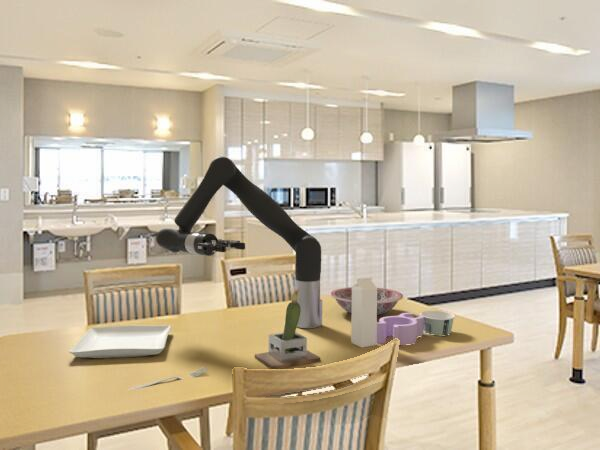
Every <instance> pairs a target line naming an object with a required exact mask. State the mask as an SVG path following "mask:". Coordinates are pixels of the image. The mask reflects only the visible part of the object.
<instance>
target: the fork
mask: <svg viewBox="0 0 600 450" xmlns="http://www.w3.org/2000/svg"><path fill="white" fill-rule="evenodd" d="M208 370H209V369H208V368H207V367H206V366H203V367H201V368H199V369H197V370H195V371H193V372H191V373H188V374H187V376H189V378H193V377H194V378H196V377H198V376H200V375H202V374H203V373H206V372H207V371H208ZM194 378H193V379H194ZM171 379H179V380H184V378H183V377H182V376H170V377H169V376H168V377H166V378H162V379H160V380H156V381H153V382H148V383H145V384H142V385H137V386H133V387H131V388H128V391H129V390H131V391H132V390H139V389H142V388H146V387H147V388H148V387H151V386H153V385H156V384H159V383H162V382H164V381H167V380H171Z"/></svg>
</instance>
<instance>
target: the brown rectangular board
mask: <svg viewBox="0 0 600 450" xmlns="http://www.w3.org/2000/svg"><path fill="white" fill-rule="evenodd" d="M300 347H301V346H300ZM254 358H255V360H257V361H259V362H260V363H261V364H263V365H264V366H266V367H267V368H268V369H270V370H271V369H276V370H280V369H279V368H281V369H285V368H286V369H287V368H289V367H296V366H300V365H305V364H310V363H315V362H316V363H317V362H321V359H322V358H321V357H320V356H318V355H317V354H315V353H314V352H311V351H310V350H308V349H307V358H303V359H298V360H292V361H287V362H282V363H281V362H280V361H278V360H277V359H275V358H274V357H272V356H271V355H269V351H266V352H261V353H255V354H254Z"/></svg>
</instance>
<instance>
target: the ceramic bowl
mask: <svg viewBox="0 0 600 450" xmlns="http://www.w3.org/2000/svg"><path fill="white" fill-rule="evenodd" d="M330 296H331V298H333V299H335V301H336V303H337V304H338V305H339V307H341V309H343V310H344V311H346V312H348V313H350V314H352V286H350V287H349V286H348V287H343V288H337V289H335V290H332V291H331V292H330ZM403 298H404V294H403V293H402V292H399V291H397V290H394V289H389V288H383V287H377V316H378V315H383V314H386V313H388V312H390V311H391V310H392V309H394V308H395V306H396V305H397V304H398V302H399V301H400V300H403Z"/></svg>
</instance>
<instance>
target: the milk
mask: <svg viewBox="0 0 600 450" xmlns="http://www.w3.org/2000/svg"><path fill="white" fill-rule="evenodd" d="M351 287H352V313H351V316H350V317H351V321H350V322H351V323H350V325H351V328H350V329H351V331H350V336H351V337H350V343H351V344H352V345H353V344H354V345H355V346H358V347H359V348H367V347H373V346H376V345H377V343H376V331H377V322H378V321H377V320H378V315H377V288H378V287H377V286H376V284H374V282H373V277H372V276H369V277H362V278H361V277H360V278H359V277H358V278H357V279H356V283H355V284H354V285H352V286H351Z"/></svg>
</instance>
